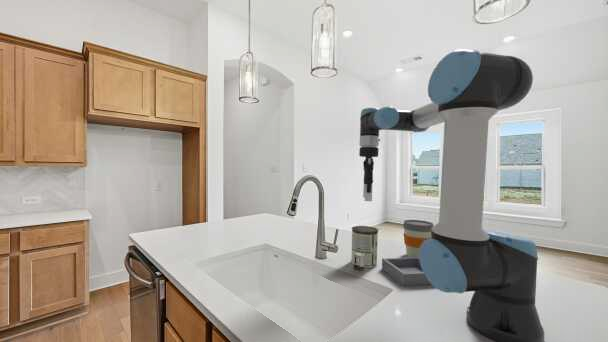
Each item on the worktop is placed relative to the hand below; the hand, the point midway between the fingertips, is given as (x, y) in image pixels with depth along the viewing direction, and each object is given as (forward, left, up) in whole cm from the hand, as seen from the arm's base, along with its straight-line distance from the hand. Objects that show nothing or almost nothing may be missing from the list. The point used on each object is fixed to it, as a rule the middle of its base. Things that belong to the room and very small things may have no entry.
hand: (367, 199), depth 109 cm
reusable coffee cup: (+4, -27, -26) cm, 38 cm away
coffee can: (-2, +1, -26) cm, 26 cm away
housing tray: (-16, -11, -26) cm, 32 cm away
